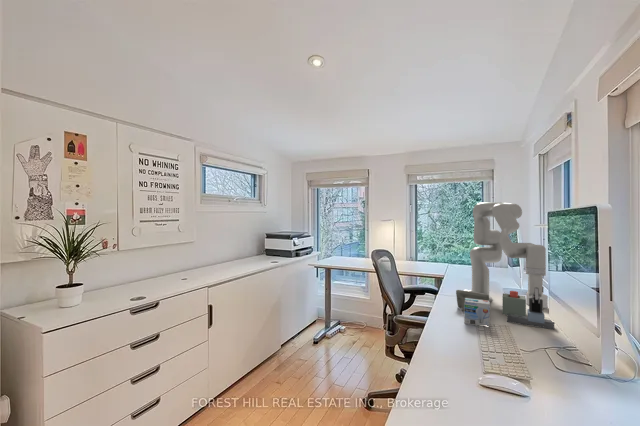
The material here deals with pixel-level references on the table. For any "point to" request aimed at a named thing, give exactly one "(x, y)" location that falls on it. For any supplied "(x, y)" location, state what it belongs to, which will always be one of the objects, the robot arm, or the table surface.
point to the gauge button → (514, 294)
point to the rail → (524, 321)
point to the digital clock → (467, 294)
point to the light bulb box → (476, 312)
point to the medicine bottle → (544, 298)
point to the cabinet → (514, 305)
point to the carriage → (536, 313)
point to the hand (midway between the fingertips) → (535, 310)
